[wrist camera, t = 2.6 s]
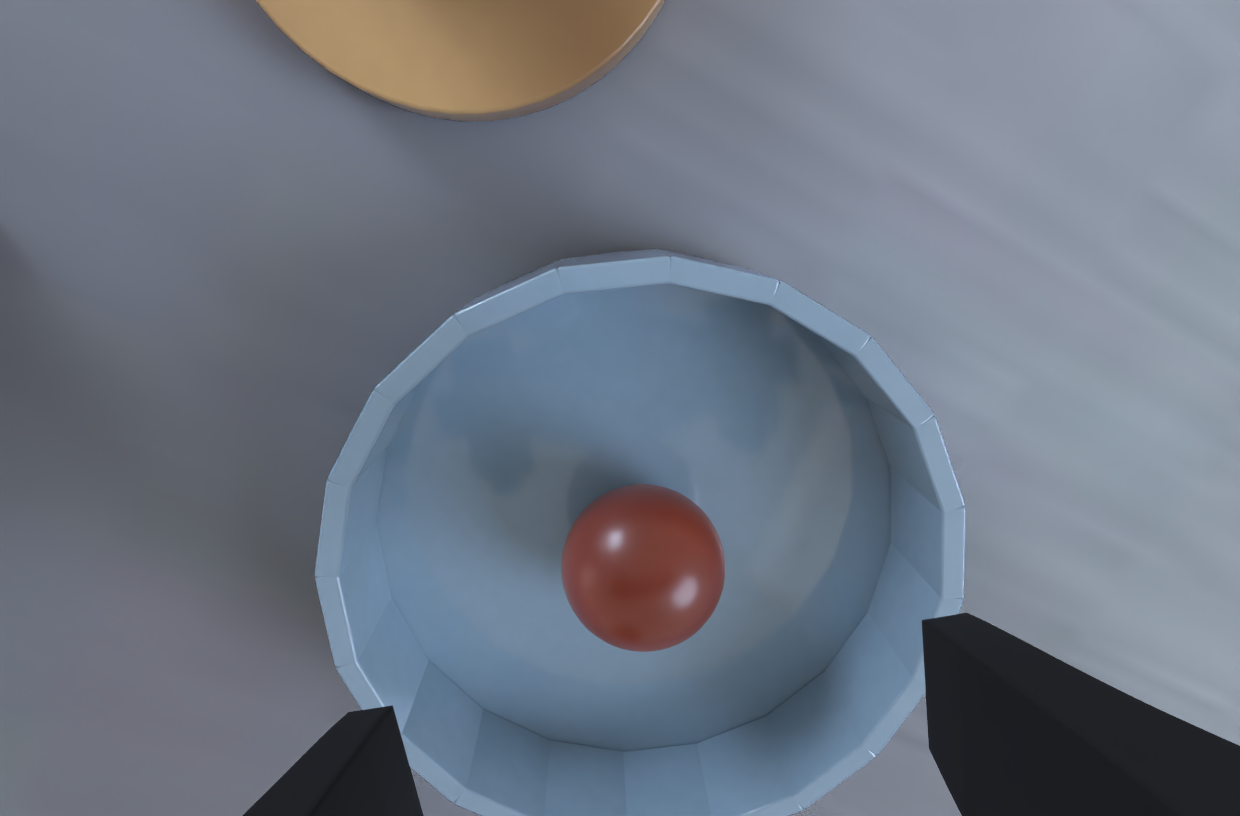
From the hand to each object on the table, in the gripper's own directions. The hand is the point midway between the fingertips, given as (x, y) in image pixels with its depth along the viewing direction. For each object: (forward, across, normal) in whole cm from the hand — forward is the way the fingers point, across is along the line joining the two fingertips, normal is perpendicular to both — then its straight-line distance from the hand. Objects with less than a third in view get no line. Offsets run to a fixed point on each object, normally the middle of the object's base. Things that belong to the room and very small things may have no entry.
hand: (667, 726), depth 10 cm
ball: (+5, 0, 0) cm, 5 cm away
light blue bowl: (+7, 0, 0) cm, 7 cm away
